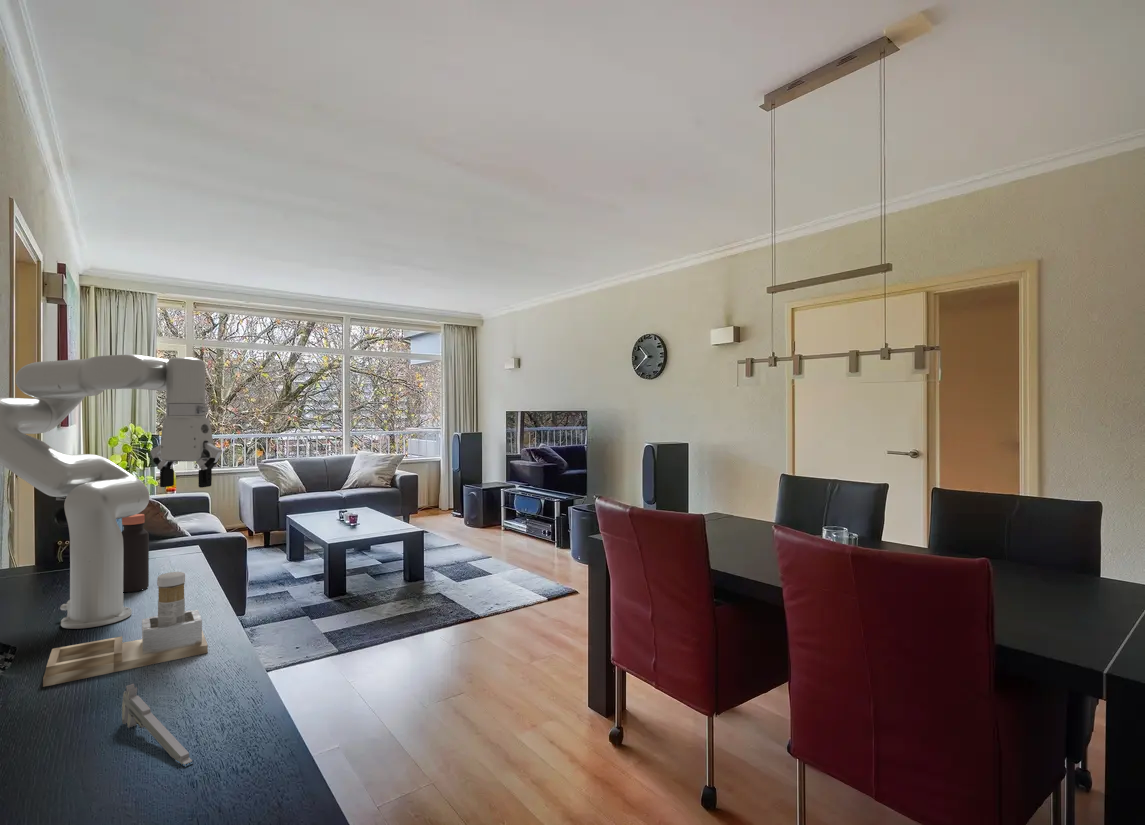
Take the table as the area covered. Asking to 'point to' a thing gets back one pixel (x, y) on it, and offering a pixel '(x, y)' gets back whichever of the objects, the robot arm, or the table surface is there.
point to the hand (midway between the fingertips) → (185, 486)
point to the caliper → (150, 724)
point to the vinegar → (135, 553)
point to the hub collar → (171, 633)
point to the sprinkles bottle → (171, 598)
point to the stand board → (107, 658)
